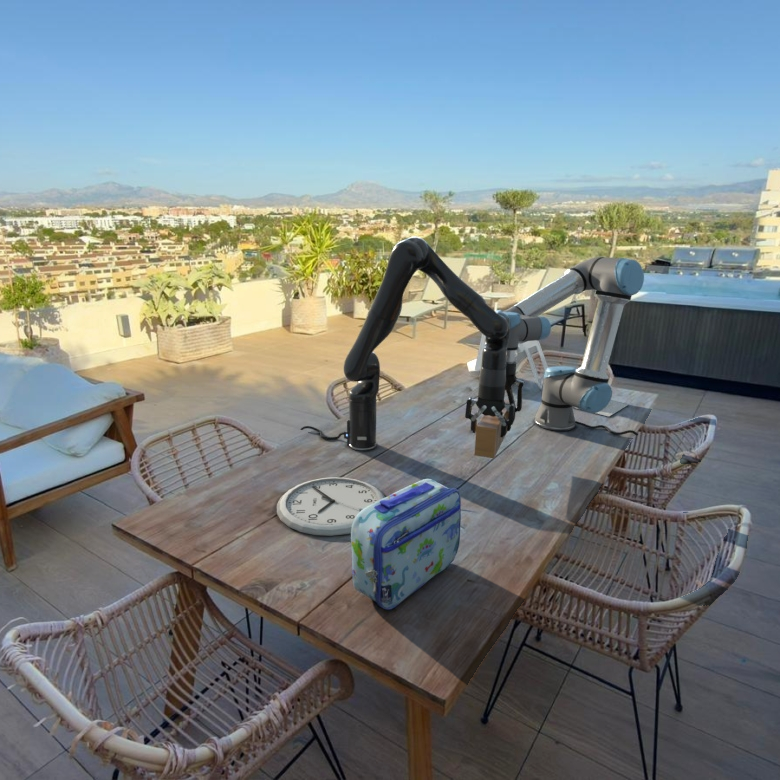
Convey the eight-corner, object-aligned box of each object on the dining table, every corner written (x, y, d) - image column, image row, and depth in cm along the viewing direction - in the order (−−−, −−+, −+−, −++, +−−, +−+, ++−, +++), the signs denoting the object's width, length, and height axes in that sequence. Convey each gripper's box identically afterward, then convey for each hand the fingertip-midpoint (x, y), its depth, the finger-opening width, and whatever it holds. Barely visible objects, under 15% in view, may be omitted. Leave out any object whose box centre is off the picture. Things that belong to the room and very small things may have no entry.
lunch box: (380, 623, 100) (381, 528, 94) (344, 596, 108) (343, 505, 101) (464, 565, 118) (470, 482, 112) (428, 545, 125) (432, 466, 119)
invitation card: (608, 416, 214) (573, 407, 224) (608, 416, 214) (573, 408, 224) (628, 404, 229) (594, 396, 238) (628, 405, 229) (594, 397, 238)
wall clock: (392, 527, 129) (268, 531, 127) (391, 533, 130) (269, 537, 127) (383, 473, 158) (282, 475, 155) (383, 478, 158) (282, 480, 156)
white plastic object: (487, 418, 267) (468, 395, 242) (469, 346, 289) (449, 318, 264) (558, 394, 255) (545, 368, 230) (533, 321, 277) (518, 289, 252)
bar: (492, 424, 179) (494, 398, 177) (509, 427, 177) (512, 401, 175) (474, 455, 155) (476, 425, 152) (493, 458, 153) (496, 428, 150)
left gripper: (464, 382, 150) (461, 435, 155) (515, 388, 145) (510, 442, 150) (471, 376, 157) (467, 426, 162) (519, 381, 152) (514, 433, 157)
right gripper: (473, 360, 168) (468, 427, 175) (533, 367, 161) (526, 436, 168) (478, 355, 174) (473, 420, 181) (536, 361, 168) (529, 428, 175)
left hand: (488, 434), depth 156 cm, fingers open, 8 cm apart
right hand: (499, 428), depth 175 cm, fingers closed on bar, 6 cm apart
